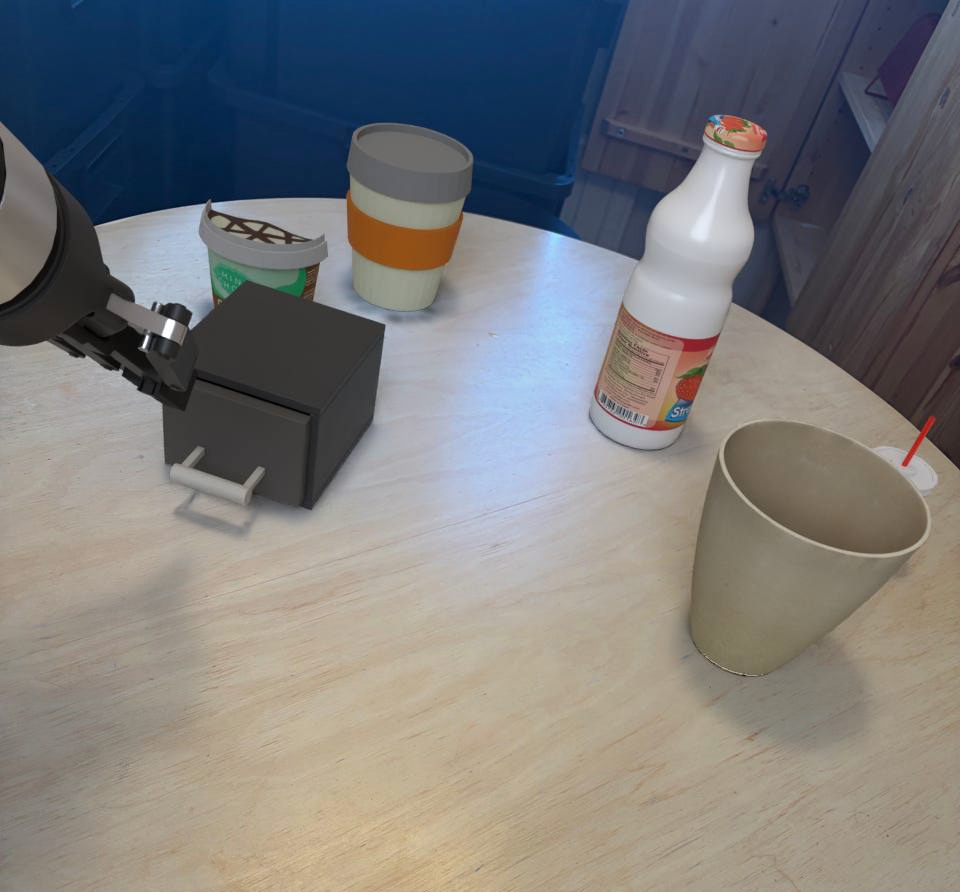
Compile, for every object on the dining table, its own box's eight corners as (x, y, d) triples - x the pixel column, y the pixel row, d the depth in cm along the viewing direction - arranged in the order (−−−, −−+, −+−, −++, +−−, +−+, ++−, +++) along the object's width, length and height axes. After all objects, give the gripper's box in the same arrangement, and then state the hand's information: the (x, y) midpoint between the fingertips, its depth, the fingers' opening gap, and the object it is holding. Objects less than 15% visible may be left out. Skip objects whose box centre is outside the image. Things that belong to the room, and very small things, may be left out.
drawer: (276, 538, 74) (281, 454, 69) (137, 491, 75) (131, 404, 69) (359, 422, 87) (368, 343, 81) (238, 383, 87) (240, 302, 82)
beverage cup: (893, 546, 91) (975, 418, 81) (878, 579, 87) (963, 449, 77) (832, 516, 92) (905, 387, 83) (814, 548, 88) (889, 416, 79)
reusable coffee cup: (318, 265, 108) (330, 120, 97) (421, 260, 113) (443, 123, 103) (362, 323, 101) (379, 174, 90) (470, 316, 106) (498, 174, 96)
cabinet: (311, 510, 79) (320, 408, 72) (165, 462, 79) (160, 356, 73) (373, 420, 89) (386, 324, 82) (243, 378, 90) (246, 279, 83)
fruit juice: (588, 389, 100) (678, 93, 81) (677, 409, 101) (788, 120, 81) (586, 440, 94) (684, 131, 74) (681, 461, 94) (803, 160, 75)
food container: (177, 324, 94) (174, 221, 87) (205, 297, 98) (204, 197, 91) (299, 361, 94) (306, 260, 86) (322, 333, 98) (330, 235, 91)
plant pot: (693, 726, 70) (784, 560, 59) (617, 583, 80) (684, 417, 68) (863, 707, 75) (977, 550, 64) (773, 574, 84) (859, 418, 73)
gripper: (-203, 267, 40) (68, 412, 64) (92, 365, 39) (256, 475, 63) (-143, 93, 40) (106, 302, 64) (152, 188, 39) (294, 364, 63)
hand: (180, 388), depth 63 cm, fingers closed
